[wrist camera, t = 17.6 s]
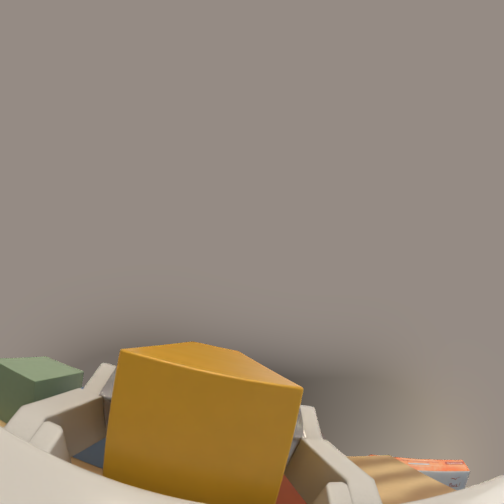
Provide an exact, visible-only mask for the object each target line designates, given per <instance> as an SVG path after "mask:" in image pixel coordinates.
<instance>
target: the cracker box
mask: <svg viewBox="0 0 504 504" xmlns="http://www.w3.org/2000/svg"><path fill="white" fill-rule="evenodd" d="M369 456H377V455H369ZM394 458H395V459H397V460H399V461H401V462H403V463H404V464H406V465H408V466H410V467H412V468H414V469H415V470H417V471H419V472H421V473H423V474H425V475H427V476H429V477H431V478H433V479H435V480H437V481H439V482H441V483H443V484H445V485H447V486H449V487H451V488H453V489H455V490H460V489H463V488H465V485H466V482H467V480H468V477H469V474H470V470H469V469H468V467H467V466H466V464H465V463H464V461H463V460H430V459H411V458H398V457H394Z"/></svg>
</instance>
